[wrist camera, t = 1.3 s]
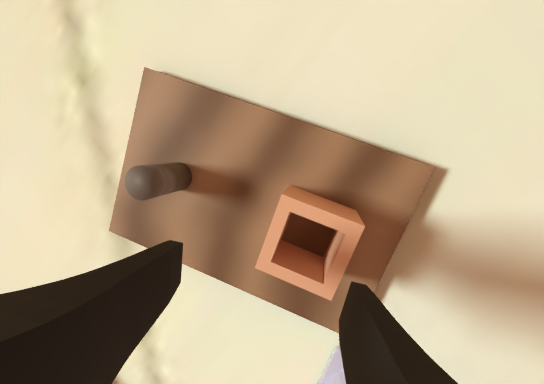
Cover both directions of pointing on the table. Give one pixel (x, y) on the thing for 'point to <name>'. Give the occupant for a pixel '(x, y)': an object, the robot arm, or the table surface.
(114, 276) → the robot arm
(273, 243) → the collar
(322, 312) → the plate
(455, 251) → the table surface
